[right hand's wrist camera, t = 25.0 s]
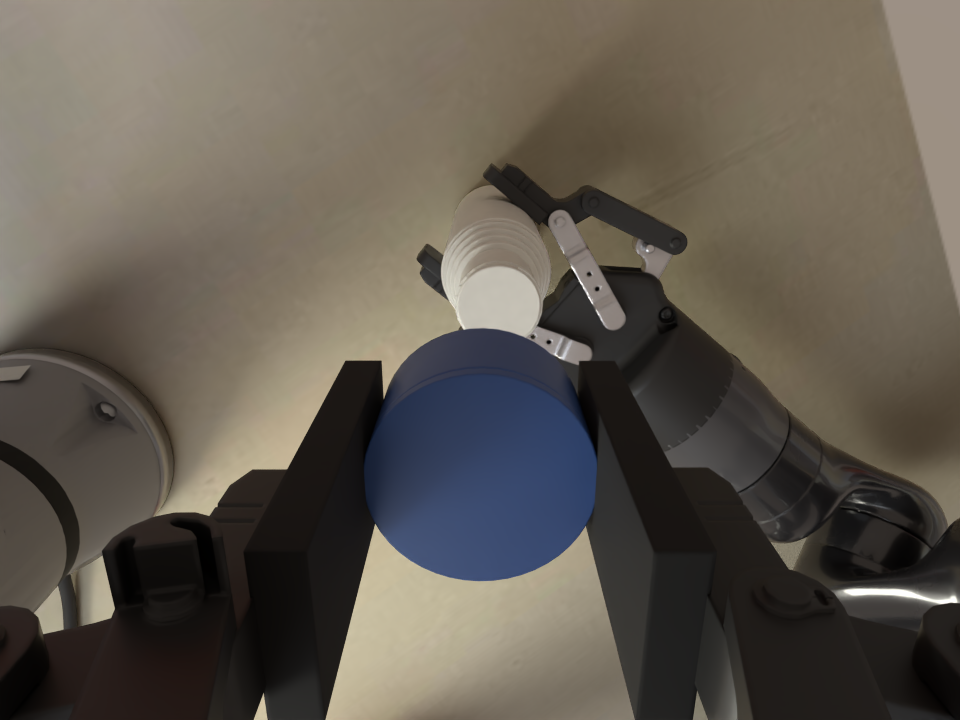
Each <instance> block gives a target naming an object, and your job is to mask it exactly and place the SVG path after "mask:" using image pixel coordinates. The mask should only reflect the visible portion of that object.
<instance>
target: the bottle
mask: <svg viewBox="0 0 960 720" xmlns="http://www.w3.org/2000/svg"><path fill="white" fill-rule="evenodd" d="M441 279H442V284H443V288H444V291H445V293H446V295H447V297H448V299H449V301H450V303H451V304H452V306H453V307H454V308H455V310H456V315H457V319H458V321H459V323H460V324H461V326H462V328H463V329H464V330H465V329H473V328H489V329H499V330H503V331H508V332H512V333H515V334H518V335H520V336H523V337H525V338H526V337H527V336H528V335H529V334H530V333H532V331H533V330H534V329H535V327H536V326H537V324H538V322H539V320H540V317H541V315H542V307H543V300H544V298H545V296H546V294H547V291H548V288H549V284H550V279H551V262H550V258H549V254H548V252H547V249H546V247H545V245H544V243H543V240H542V238H541V236H540V234H539V232H538V230H537V227H536V225H535V223H534V221H533V219H532V218H531V217H530V216H528V215H527V214H526V213H525V212H524V211H523V210H522V209H520V208H519V207H518V206H517V205H515V204H514V203H513V202H512V201H511V200H510V199H508V198H507V197H506V196H505V195H504V194H503V193H501V192H500V191H499V190H498V189H497V188H496V187H494V186H493V185H488V186H482V187H479V188H477V189H475V190H473V191H471V192H470V193H468V194H467V195H466V196H465V197H464V198H463V199H462V201H461V202H460V203H459V205H458V207H457V209H456V212H455V215H454V219H453V222H452V226H451V230H450V233H449V237H448V241H447V244H446V248H445V252H444V255H443V259H442V265H441Z"/></svg>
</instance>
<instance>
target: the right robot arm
mask: <svg viewBox="0 0 960 720" xmlns="http://www.w3.org/2000/svg"><path fill="white" fill-rule="evenodd" d="M577 396H578V399H579V402H580V405H581V408H582V411H583V414H584V417H585V420H586V423H587V426H588V429H589V432H590V435H591V438H592V441H593V444H594V448H595V451H596V455H597V474H596V488H595V503H594V509H593V512H592V514H591V516H590V518H589V520H588V523H587V525H586V528H587V532H588V536H589V540H590V544H591V548H592V552H593V556H594V560H595V564H596V567H597V571H598V575H599V579H600V583H601V587H602V591H603V595H604V599H605V603H606V607H607V611H608V615H609V619H610V623H611V627H612V631H613V634H614V638H615V642H616V646H617V650H618V654H619V658H620V662H621V666H622V670H623V674H624V678H625V682H626V686H627V690H628V694H629V698H630V702H631V705H632V709H633V713H634V717H635V720H693V714H694V707H695V700H696V694H697V691H698V694H699V696H700V699H701V702H702V704H703V707H704V710H705V712H706V715H707V718H708V720H960V603H945V604H940V605H934V606H932V607H931V608H930V609H929V610H928V611H927V612H925V613H924V614H923V617H922V620H921V624H920V628H919V631H913V630H908V629H904V628H899V627H894V626H890V625H885V624H881V623H876V622H871V621H867V620H864V619H860V618H857V617H853V616H850V615H848V614H847V612H846V609H845V607H844V606H843V605H842V603H841V602H840V600H839V599H838V598H837V596H836V595H835V594H834V593H833V592H832V591H831V590H829V589H828V588H827V587H825V586H824V585H823V584H821V583H820V582H819V581H817V580H815V579H813V578H810V577H808V576H806V575H804V574H802V573H799V572H797V571H793V570H789V569H788V568H787V566H786V565H785V563H784V562H783V560H782V559H781V557H780V556H779V554H778V553H777V551H776V550H775V548H774V547H773V545H772V544H771V542H770V541H769V539H768V538H767V536H766V535H765V533H764V532H763V530H762V529H761V527H760V526H759V524H758V523H757V521H754V520H753V516H752V514H751V513H750V511H749V510H748V508H747V507H746V505H743V501H742V499H741V498H740V496H739V495H738V493H737V492H736V490H735V489H734V487H733V486H732V484H731V483H730V482H728V481H727V480H725V479H724V478H723V477H721V476H720V475H718V474H717V473H715V472H714V471H713V470H711V469H710V468H708V467H672V466H671V464H670V463H669V461H668V459H667V457H666V455H665V453H664V451H663V450H662V448H661V446H660V444H659V442H658V440H657V438H656V436H655V435H654V433H653V431H652V429H651V427H650V425H649V423H648V422H647V420H646V418H645V416H644V414H643V412H642V410H641V409H640V407H639V405H638V403H637V401H636V399H635V397H634V395H633V394H632V392H631V390H630V388H629V386H628V384H627V382H626V381H625V379H624V377H623V375H622V373H621V371H620V369H619V368H618V366H617V364H616V362H615V361H579V370H578V388H577ZM383 401H384V398H383V380H382V362H381V361H345V363H344V365H343V367H342V368H341V370H340V372H339V374H338V376H337V378H336V380H335V381H334V383H333V385H332V387H331V389H330V391H329V393H328V394H327V396H326V398H325V400H324V402H323V404H322V406H321V408H320V409H319V411H318V413H317V415H316V417H315V419H314V421H313V422H312V424H311V426H310V428H309V430H308V432H307V434H306V436H305V437H304V439H303V441H302V443H301V445H300V447H299V449H298V450H297V452H296V454H295V456H294V458H293V460H292V462H291V463H290V465H289V467H288V469H287V470H251V471H250V472H248V473H247V474H246V475H244V476H243V477H241V478H240V479H238V480H237V481H236V482H234V483H233V484H231V485H230V486H229V488H228V489H227V491H226V492H225V494H224V495H223V497H222V498H221V500H220V501H219V503H218V507H215V509H214V510H213V512H212V513H211V515H210V516H207V515H203V514H199V513H195V512H194V513H171V514H166V515H161V516H156V517H154V516H155V515H156V514H157V513H158V511H159V510H160V508H161V507H162V505H163V504H164V502H165V500H166V498H167V496H168V493H169V491H170V488H171V483H172V479H173V454H172V449H171V444H170V441H169V438H168V435H167V432H166V430H165V428H164V425H163V423H162V421H161V420H160V418H159V416H158V414H157V413H156V411H155V410H154V409H153V407H152V406H151V404H150V403H149V402H148V401H147V400H146V398H145V397H144V396H143V395H142V394H141V393H140V392H139V391H138V390H137V389H136V388H135V387H134V386H133V385H132V384H130V383H129V382H128V381H127V380H126V379H124V378H123V377H122V376H120V375H119V374H117V373H116V372H114V371H113V370H111V369H109V368H108V367H106V366H104V365H102V364H100V363H98V362H96V361H94V360H91V359H89V358H87V357H84V356H81V355H78V354H74V353H71V352H66V351H62V350H55V349H44V348H33V349H22V350H16V351H12V352H8V353H4V354H2V355H0V720H254V717H255V714H256V712H257V709H258V706H259V704H260V701H261V698H262V696H263V693H264V697H265V704H266V711H267V718H268V720H325V719H326V715H327V711H328V707H329V703H330V699H331V695H332V691H333V688H334V684H335V680H336V676H337V672H338V668H339V664H340V660H341V656H342V652H343V648H344V644H345V640H346V636H347V632H348V628H349V624H350V620H351V617H352V613H353V609H354V605H355V601H356V597H357V593H358V589H359V585H360V581H361V577H362V573H363V569H364V565H365V561H366V557H367V553H368V549H369V546H370V542H371V538H372V534H373V530H374V526H375V522H374V520H373V518H372V516H371V514H370V511H369V509H368V506H367V503H366V493H365V479H364V459H365V453H366V450H367V448H368V445H369V442H370V439H371V436H372V433H373V430H374V427H375V424H376V421H377V418H378V415H379V413H380V410H381V407H382V404H383ZM102 555H103V559H104V563H105V567H106V572H107V576H108V580H109V585H110V589H111V593H112V598H113V602H114V606H115V610H114V613H113V615H112V618H111V619H107V620H104V621H100V622H97V623H93V624H89V625H84V626H79V627H77V612H76V599H75V593H74V588H73V584H72V580H71V575H70V573H72V572H74V571H76V570H78V569H80V568H82V567H84V566H85V565H87V564H89V563H91V562H93V561H95V560H96V559H98V558H99V557H100V556H102ZM57 586H58V587H59V591H60V595H61V600H62V608H63V621H64V630H61V631H56V632H52V633H47V634H43V633H42V629H41V626H40V622H39V618H38V617H37V616H36V615H35V614H34V612H35V611H36V610H37V609H38V608H39V607H40V605H41V604H42V603H43V602H44V601H45V600H46V598H47V597H48V596H49V595H50V594H51V593H52V591H53V590H54V589H55V588H56V587H57Z"/></svg>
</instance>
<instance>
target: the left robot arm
mask: <svg viewBox="0 0 960 720" xmlns="http://www.w3.org/2000/svg"><path fill="white" fill-rule="evenodd" d="M483 177H484V178H485V179H486V180H488V181H489V182H490V183H491V184H492V185H493V186H494V187H496V188H497V189H498V190H499V191H500V192H501V193H503V194H504V195H505V196H506V197H507V198H508V199H510V200H511V201H512V202H513V203H514V204H515V205H517V206H518V207H519V208H520V209H522V210H523V211H524V212H525V213H526V214H527V215H528V216H530V217H531V218H532V219H533V220H534V221H535V222H537V223H538V224H539V225H540V223H541V222H543V223H544V224H545V225H546V226H548V227H549V228H550V230H551V232H552V233H553V235H554V237H555V239H556V241H557V242H558V244H559V246H560V248H561V250H562V251H563V253H564V255H565V257H566V259H567V260H568V262H569V264H570V266H571V267H572V269H573V270H571V269H569V270H568V271H567V272H566V274H565V275H564V276H563V277H562V278H561V280H560V281H559V283H558V285H557V287H556V289H555V291H554V292H553V293H552V294H550V295H549V296H547V297H546V298H544V300H543V307H542V315H541V317H540V320H539V322H538V324H537V326H536V327H535V329H534V330H533V331H532V333H530V334H529V335H528V336H527V337H526V338H527V339H529V340H531V341H533V342H535V343H537V344H538V345H540V346H541V347H543V348H544V349H546V350H547V351H548V352H549V353H550V354H551V355H552V356H553V357H555V358H556V359H557V361H558V362H559V363H560V364H561V365H562V366H563V368H564V369H565V371H566V372H567V374H568V375H569V377H570V379H571V381H572V383H573V385H574V387H575V390H576V393H577V388H578V370H579V361H615V362H616V364H617V366H618V368H619V369H620V371H621V373H622V375H623V377H624V379H625V381H626V382H627V384H628V386H629V388H630V390H631V392H632V394H633V395H634V397H635V399H636V401H637V403H638V405H639V407H640V409H641V410H642V412H643V414H644V416H645V418H646V420H647V422H648V423H649V425H650V427H651V429H652V431H653V433H654V435H655V436H656V438H657V440H658V442H659V444H660V446H661V448H662V450H663V451H664V453H665V455H666V457H667V459H668V461H669V463H670V464H671V466H672V467H708V468H710V469H711V470H713V471H714V472H715V473H717V474H718V475H720V476H721V477H723V478H724V479H725V480H727V481H728V482H730V483H731V484H732V486H733V487H734V489H735V490H736V492H737V493H738V495H739V496H740V498H741V499H742V501H743V505H746V507H747V508H748V510H749V511H750V513H751V514H752V516H753V520H754V521H757V523H758V524H759V526H760V527H761V529H762V530H763V532H764V533H765V535H766V536H767V538H768V539H769V541H770V542H774V543H791V542H795V541H798V540H801V539H803V538H805V537H807V538H806V541H805V543H804V545H803V548H802V550H801V552H800V554H799V556H798V559H797V561H796V564H795V566H794V569H793V571H797V572H799V573H802V574H804V575H806V576H808V577H810V578H813V579H815V580H817V581H819V582H820V583H821V584H823V585H824V586H825V587H827V588H828V589H829V590H831V591H832V592H833V593H834V594H835V595H836V596H837V598H838V599H839V600H840V602H841V603H842V605H843V606H844V607H845V609H846V612H847V614H848V615H850V616H853V617H857V618H860V619H864V620H867V621H871V622H876V623H881V624H885V625H890V626H894V627H899V628H904V629H908V630H913V631H919V628H920V624H921V620H922V617H923V614H924V613H925V612H927V611H928V610H929V609H930V608H931V607H932V606H934V605H940V604H945V603H960V518H958V519H957V520H956V521H954V522H953V523H952V524H951V525H950V526H949V527H948V524H947V520H946V517H945V515H944V512H943V510H942V508H941V507H940V505H939V504H938V502H937V501H936V499H935V498H934V497H933V496H932V495H931V494H930V493H929V492H927V491H926V490H925V489H923V488H922V487H920V486H918V485H916V484H914V483H912V482H910V481H908V480H906V479H903V478H901V477H898V476H896V475H893V474H891V473H888V472H886V471H883V470H881V469H878V468H876V467H874V466H872V465H869V464H867V463H865V462H863V461H861V460H859V459H857V458H855V457H853V456H851V455H849V454H847V453H845V452H843V451H841V450H839V449H838V448H836V447H834V446H832V445H830V444H828V443H827V442H825V441H823V440H822V439H821V438H820V437H819V436H818V435H816V434H815V433H814V432H813V431H811V430H810V429H809V428H808V427H807V426H806V425H804V424H803V423H802V422H801V421H800V420H799V419H798V418H796V417H795V416H794V415H793V414H792V413H791V412H789V411H788V410H787V409H786V408H785V407H784V406H783V405H782V404H781V403H780V402H779V401H778V400H777V399H776V398H775V397H774V396H773V395H772V393H771V392H770V391H769V390H768V388H767V387H766V386H765V385H764V384H763V383H762V382H761V381H760V380H759V379H758V378H757V377H756V376H755V375H754V374H753V373H752V372H751V371H750V370H748V369H747V368H746V367H745V366H744V365H743V364H742V362H741V361H740V360H739V359H738V358H737V357H736V356H734V355H733V354H731V353H729V352H728V351H727V350H725V349H724V348H723V347H722V346H721V345H720V344H718V343H717V342H716V341H715V340H714V339H713V338H712V337H710V336H709V335H708V334H707V333H706V332H705V331H704V330H702V329H701V328H700V327H699V326H698V325H697V324H695V323H694V322H693V321H692V320H691V319H690V318H689V317H687V316H686V315H685V314H684V313H683V312H682V311H680V310H679V309H678V308H677V307H676V306H675V305H674V304H672V303H671V302H670V301H669V300H668V299H667V297H666V295H665V293H664V290H663V287H662V284H661V282H660V281H659V278H660V276H661V275H662V273H663V271H664V269H665V268H666V266H667V264H668V263H669V261H670V259H671V257H672V256H673V255H677V254H680V253H682V252H683V251H684V250H685V248H686V246H687V238H686V236H685V235H684V234H683V233H682V232H680V231H678V230H677V229H675V228H673V227H672V226H670V225H668V224H666V223H664V222H662V221H660V220H658V219H656V218H654V217H652V216H650V215H648V214H646V213H644V212H642V211H640V210H638V209H636V208H634V207H632V206H630V205H628V204H626V203H624V202H622V201H620V200H618V199H616V198H614V197H612V196H610V195H608V194H606V193H604V192H602V191H600V190H598V189H596V188H594V187H592V186H589V185H585V186H582V187H581V188H579V189H578V191H577V192H575V193H573V194H572V195H570V196H568V197H566V198H564V199H555V198H553V197H551V196H550V195H549V194H547V193H546V192H545V191H544V190H543V189H542V188H541V187H539V186H538V185H537V184H536V183H535V182H534V181H533V180H531V179H530V178H529V177H528V176H527V175H526V174H524V173H523V172H522V171H521V170H520V169H519V168H518V167H516V166H514V165H511V164H508V163H506V164H505V166H504V167H503V168H502V169H501V171H500V170H499V169H498V168H497V167H496V166H495V165H493V164H492V163H491V165H490V166H489V167H488V168H487V170H486V171H485V172H484V173H483ZM591 215H592V216H594V217H596V218H598V219H600V220H602V221H604V222H606V223H608V224H610V225H612V226H614V227H616V228H618V229H620V230H622V231H624V232H626V233H628V234H630V235H632V236H634V238H633V241H632V247H633V249H634V251H635V252H636V253H638V254H639V255H640V256H641V258H642V266H641V268H632V267H616V266H600V265H597V263H596V261H595V259H594V257H593V255H592V254H591V252H590V250H589V248H588V247H587V245H586V243H585V242H584V240H583V238H582V236H581V234H580V232H579V231H578V229H577V227H576V225H575V224H577V223H579V222H580V221H582V220H584V219H586V218H587V217H589V216H591ZM442 259H443V255H442V254H441V253H440V252H438V251H437V250H436V249H435V248H433V247H432V246H430V245H429V244H426V245H425V246H424V248H423V249H422V250H421V252H420V253H419V254H418V256H417V261H418V262H419V263H420V264H421V265H422V266H423V267H422V268H421V271H420V275H421V276H422V278H423V280H424V281H425V283H427V284H428V285H429V286H431V287H432V288H433V289H434V290H436V291H437V292H438V293H440V294H441V295H442V296H443V297H444V298H446V299H447V300H448V301H449V299H448V297H447V295H446V293H445V291H444V288H443V284H442V279H441V265H442ZM459 330H464V329H463V328H462V326H461V327H460V328H459ZM459 330H458V331H459ZM531 335H532V336H531Z"/></svg>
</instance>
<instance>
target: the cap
mask: <svg viewBox="0 0 960 720" xmlns="http://www.w3.org/2000/svg"><path fill="white" fill-rule="evenodd" d="M596 474H597V455H596V451H595V448H594V444H593V441H592V438H591V435H590V432H589V429H588V426H587V423H586V420H585V417H584V414H583V411H582V408H581V405H580V402H579V399H578V396H577V393H576V390H575V387H574V385H573V383H572V381H571V379H570V377H569V375H568V374H567V372H566V371H565V369H564V368H563V366H562V365H561V364H560V363H559V362H558V361H557V359H556V358H555V357H553V356H552V355H551V354H550V353H549V352H548V351H547V350H546V349H544V348H543V347H541V346H540V345H538V344H537V343H535V342H533V341H531V340H529V339H527V338H525V337H523V336H520V335H518V334H515V333H512V332H508V331H503V330H499V329H489V328H473V329H465V330H459V331H454V332H451V333H448V334H444V335H442V336H440V337H437V338H435V339H433V340H431V341H429V342H428V343H426V344H424V345H423V346H421V347H420V348H418V349H417V350H416V351H415V352H414V353H412V354H411V355H410V356H409V357H408V358H407V359H406V360H405V361H404V362H403V363H402V365H401V366H400V367H399V369H398V370H397V372H396V373H395V374H394V376H393V378H392V380H391V382H390V384H389V386H388V389H387V392H386V395H385V398H384V401H383V404H382V407H381V410H380V413H379V415H378V418H377V421H376V424H375V427H374V430H373V433H372V436H371V439H370V442H369V445H368V448H367V450H366V453H365V459H364V479H365V493H366V503H367V506H368V509H369V511H370V514H371V516H372V518H373V520H374V522H375V524H376V525H377V527H378V529H379V530H380V532H381V533H382V534H383V536H384V537H385V538H386V539H387V541H388V542H389V543H390V544H391V545H392V546H393V547H394V548H395V549H396V550H397V551H398V552H400V553H401V554H402V555H404V556H405V557H406V558H408V559H409V560H410V561H412V562H414V563H416V564H417V565H419V566H421V567H423V568H425V569H427V570H430V571H432V572H434V573H437V574H440V575H444V576H447V577H450V578H456V579H461V580H471V581H494V580H501V579H508V578H512V577H515V576H519V575H523V574H525V573H528V572H531V571H533V570H536V569H537V568H539V567H541V566H543V565H545V564H547V563H549V562H550V561H552V560H553V559H555V558H556V557H558V556H559V555H560V554H561V553H563V552H564V551H565V550H566V549H567V548H568V547H569V546H570V545H571V544H572V543H573V542H574V541H575V540H576V539H577V537H578V536H579V535H580V533H581V532H582V530H583V529H584V528H585V526H586V525H587V523H588V520H589V518H590V516H591V514H592V512H593V509H594V503H595V488H596Z"/></svg>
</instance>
